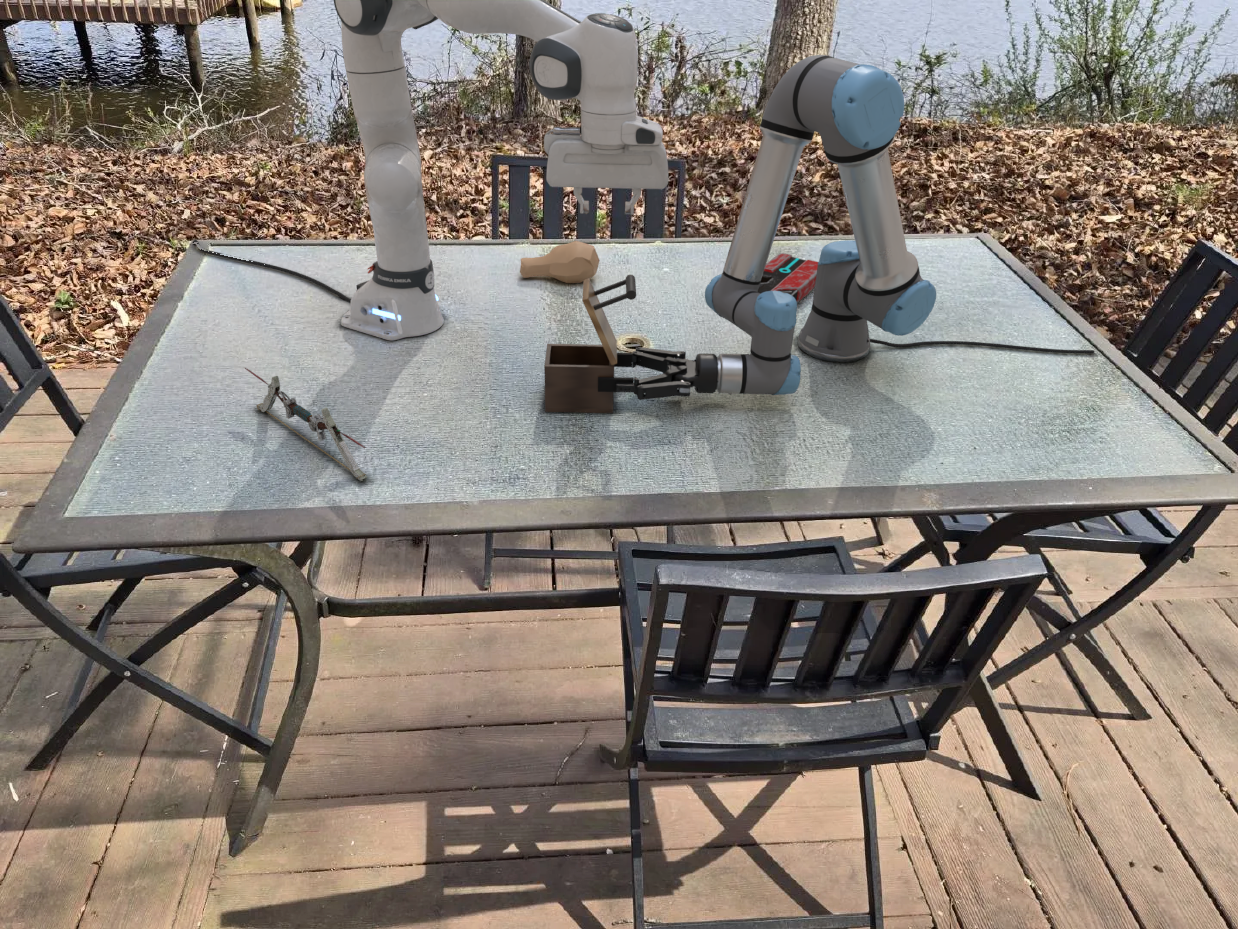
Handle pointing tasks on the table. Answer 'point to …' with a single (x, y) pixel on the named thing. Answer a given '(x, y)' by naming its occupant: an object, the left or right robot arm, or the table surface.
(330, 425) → the bow
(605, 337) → the lid
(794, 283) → the gun
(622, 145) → the left robot arm
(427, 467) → the table surface
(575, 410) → the chest
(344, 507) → the table surface
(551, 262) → the squash
